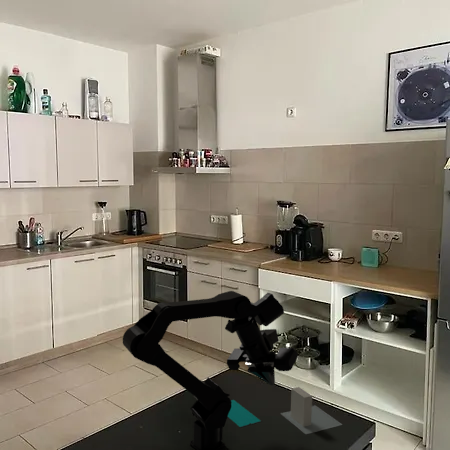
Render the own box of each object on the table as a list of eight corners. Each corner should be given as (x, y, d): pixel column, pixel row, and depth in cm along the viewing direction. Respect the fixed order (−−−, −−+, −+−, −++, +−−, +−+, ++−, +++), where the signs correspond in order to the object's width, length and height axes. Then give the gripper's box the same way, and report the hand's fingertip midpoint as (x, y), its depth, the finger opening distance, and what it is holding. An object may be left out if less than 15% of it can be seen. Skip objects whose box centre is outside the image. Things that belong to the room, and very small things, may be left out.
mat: (305, 435, 118) (305, 434, 118) (280, 414, 129) (280, 413, 129) (342, 426, 123) (342, 424, 123) (315, 406, 134) (315, 405, 134)
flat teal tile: (233, 398, 137) (262, 421, 124) (233, 401, 137) (262, 424, 124) (211, 404, 134) (239, 427, 121) (211, 407, 134) (239, 430, 121)
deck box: (303, 426, 122) (304, 397, 121) (290, 416, 127) (291, 388, 126) (311, 424, 123) (312, 395, 122) (298, 414, 128) (299, 386, 128)
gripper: (294, 315, 117) (315, 363, 121) (234, 318, 128) (255, 362, 132) (278, 343, 108) (300, 394, 113) (215, 344, 119) (238, 391, 124)
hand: (272, 384), depth 121 cm, fingers closed
